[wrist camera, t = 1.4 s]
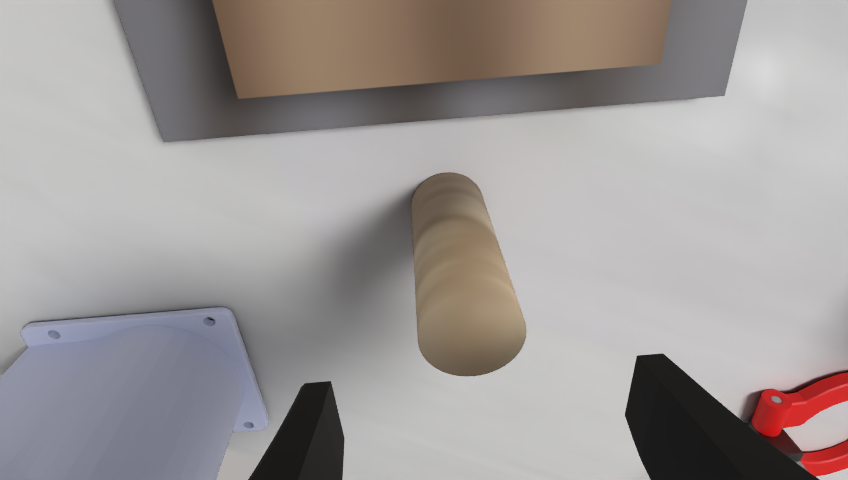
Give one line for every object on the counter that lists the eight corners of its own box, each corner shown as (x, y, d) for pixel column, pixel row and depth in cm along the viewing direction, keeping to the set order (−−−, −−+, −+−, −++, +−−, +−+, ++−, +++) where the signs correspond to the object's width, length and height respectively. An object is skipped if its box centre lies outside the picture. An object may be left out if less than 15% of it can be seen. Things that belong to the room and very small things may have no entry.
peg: (413, 240, 21) (421, 380, 14) (407, 175, 20) (413, 298, 13) (483, 234, 21) (524, 371, 14) (482, 169, 20) (528, 288, 13)
